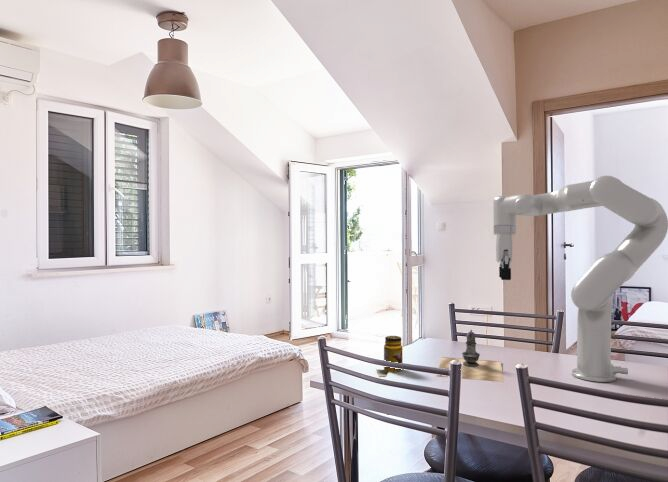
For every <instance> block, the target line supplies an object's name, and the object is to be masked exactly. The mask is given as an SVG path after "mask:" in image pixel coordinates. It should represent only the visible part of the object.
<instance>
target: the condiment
mask: <svg viewBox="0 0 668 482" xmlns="http://www.w3.org/2000/svg"><path fill="white" fill-rule="evenodd" d="M384 339H385V341H384V345H383V361H384V360H386V361H391V362H398V363H402V364H403V345H402V337H401V336H397V335H387V336H385V338H384ZM375 370H376V373H377V375H378V377H387V376H388V374H389V373H400V372H402V371H403V369H402V370H401V369H395V368H390V367H384V366H383V369H375Z"/></svg>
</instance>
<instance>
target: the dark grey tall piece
mask: <svg viewBox="0 0 668 482" xmlns="http://www.w3.org/2000/svg"><path fill="white" fill-rule="evenodd" d="M465 344H466V348H465V351H463V352H462V353H461V355H462V359H464V360H465V361H466V362H464V363H463V365H465V366H468V367H477V366H479V364H478V363H477V362H476V361H477V360H480V356H481V353H479V352H477V349H476V346H477V342H476V333H474V332H473V330H472V329H470V331H468V332H467V334H466V341H465Z"/></svg>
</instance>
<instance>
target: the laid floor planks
mask: <svg viewBox="0 0 668 482" xmlns="http://www.w3.org/2000/svg"><path fill="white" fill-rule="evenodd" d="M445 369H448V368H445ZM435 376H436V377H438V378H439V377H441V378H449V377H448V376H442V375H437V374H436V375H435ZM461 379H464V380H477V381H489V382H500V383H504V376H503V372H502V373H499V372H486V371H474V370H462V378H461Z"/></svg>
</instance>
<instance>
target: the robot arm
mask: <svg viewBox="0 0 668 482" xmlns="http://www.w3.org/2000/svg"><path fill="white" fill-rule="evenodd" d="M492 204H493V214H492V215H493V236H494V235H495V236H496V237H495V238H496V239H495V241H496V242H495V251H496V252H495V261H496V263H498V264H499V267H498V272H499V273H498V274H499V276H498V277H499V278H500V280H502V281H511V279H512V268H511V263H512V262H513V235H514V236H515V235H517V221H516V220H517V217H516V216H524V217H537V216H545V215H552V214H557V213H564V212H567V213H568V212H571V211H577V210H584V209H590V208H598V207H604V208H606V209H607V210H608V211H611V212H612V213H614V214H616V215H617V216H619V217H620V218H622V219H624V220H626V221H627V222H629V223H630V224H633V225H634V227H633V229H632V230H631V232H630V233H628V235H626V237H624V239H623V240H622V241H621V242H620V244H618V246H617V247H615V249H614V250H613V251H611V252H609V253H605V254H603V255H602V256H601V257H599V258H598V259H597V260H596V261H595V262H594V263H593V264H592V265H591V266H590V268H589V269H587V271H586V272H585V273H584V274H583V275H582V276H581V278H579V279H578V281H577V282H576V283H575V284H574V286H573V287H572V289H571V293H570V297H571V301H572V303H573V305H574V306H575V307H577V308H578V309H577V310H578V311H577V327H576V328H577V330H576V331H577V334H576V335H577V339H576V340H577V342H576V343H577V344H576V347H577V348H576V349H577V350H576V352H577V353H576V355H577V356H576V368H573V369H572V370H571V375H572V376H573V377H575V378H577V379H580V380H584V381H589V382H597V383H609V382H615V381H616V380H617V374H620V375H628V374H629V368H627V367H622V366H618V365H617V366H615V365H614V364H612V363H611V362H612V361H611V360H612V358H611V357H612V313H613V311H612V310H613V303H614V302H613V301H614V294H615V293H616V291H618V290H619V289H620V288H621V287H622V285H623V284H625V283H626V282H628V281H629V280H630V279H632V278H633V276H634V275H635V274H636V272H637V271H638V270H639V269H640V268H641V267H642V266H643V265H644V263H645V262H647V260H648V259H649V258H650V257H651V256H652V255H653V253H655V252H656V250H657V249H658V248H659V247H660V246H661V245H662V243H663V242H664V240H665V238H666V237H667V233H668V215H667V213H666V210H665V208H664V207H663V206H662V204H661V203H660V202H659V201H658V200H656V199H655V198H653V197H649V196H647V195H645V194H643V193H642V192H640V191H638V190H636V189H634V188H632V187H631V186H629V185H627V184H625V183H624V182H623V181H621V179H619V178H617V177H614V176H612V175H602V176H598V177H597V178H595V179H593V180H590V181H585V182H583V181H582V182H578V183H571V184H567V185H564V186H563V187H561V188H560V189H559V190H555V191H550V192H546V193H539V194H529V193H519V194H514V195H499V196H495V197H494V198H493V203H492Z"/></svg>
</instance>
